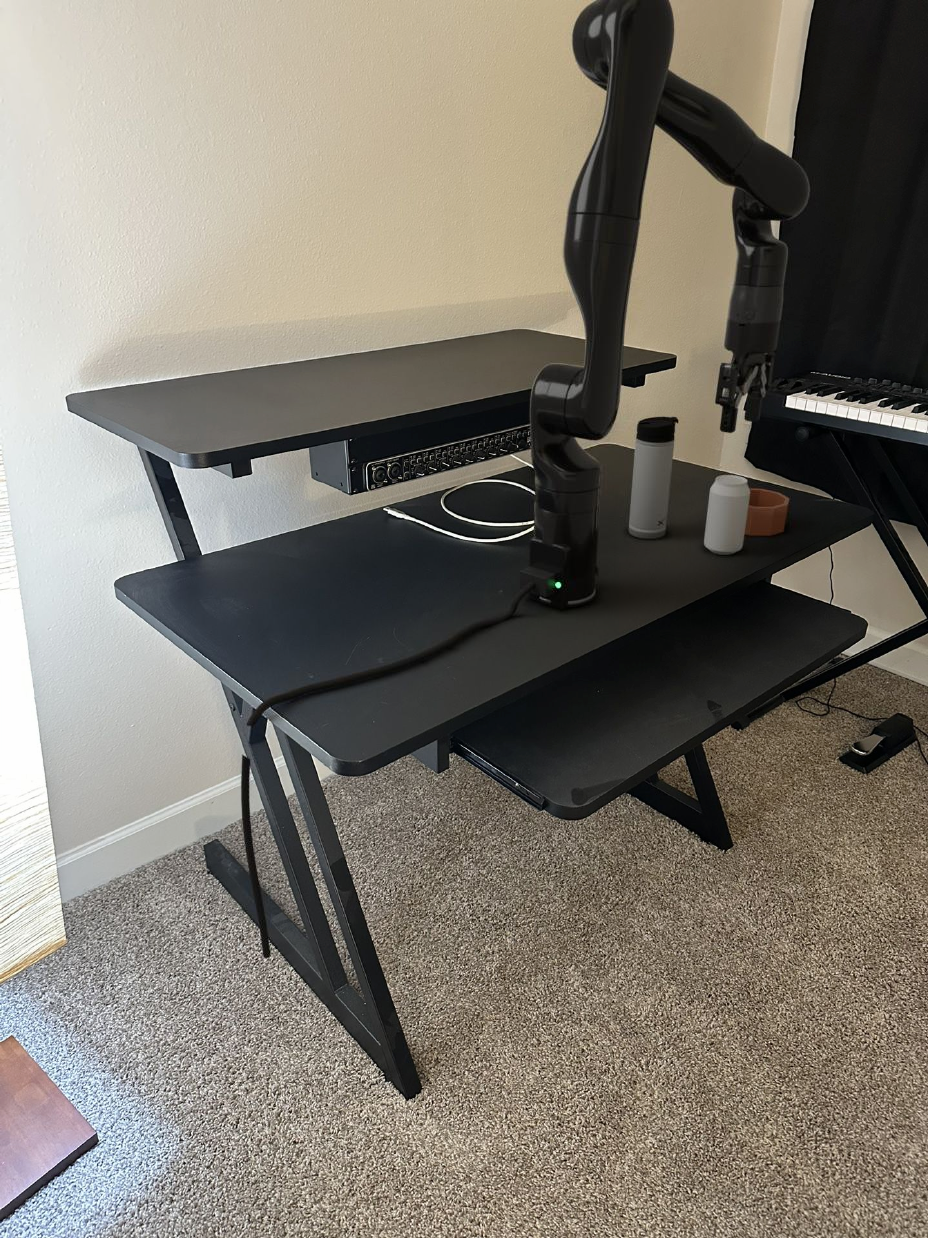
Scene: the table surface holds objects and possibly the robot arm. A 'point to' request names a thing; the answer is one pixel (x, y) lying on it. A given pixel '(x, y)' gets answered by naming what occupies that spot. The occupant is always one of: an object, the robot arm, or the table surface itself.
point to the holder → (766, 513)
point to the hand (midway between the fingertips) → (739, 426)
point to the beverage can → (727, 514)
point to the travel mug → (652, 477)
